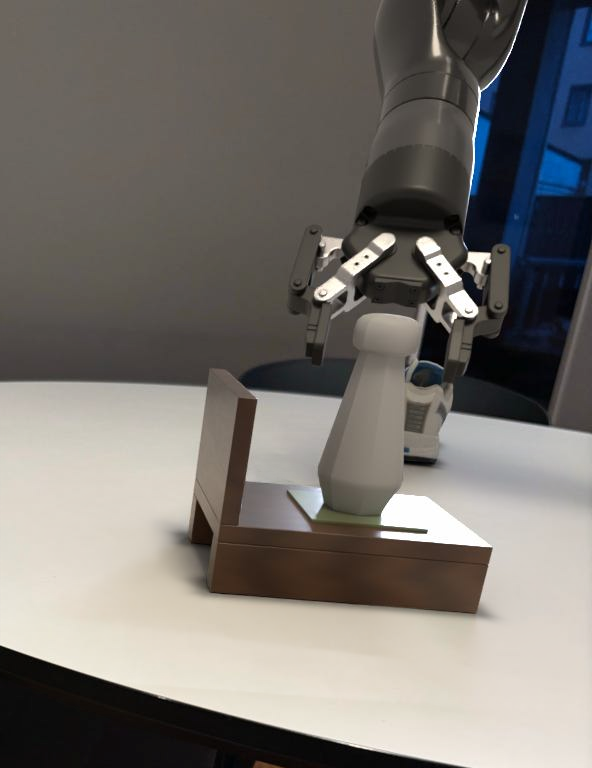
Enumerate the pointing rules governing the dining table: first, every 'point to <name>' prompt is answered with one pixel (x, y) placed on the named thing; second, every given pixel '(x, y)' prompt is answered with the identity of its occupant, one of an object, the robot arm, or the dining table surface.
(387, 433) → the salt shaker
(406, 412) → the athletic shoe
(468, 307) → the robot arm
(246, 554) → the l-shaped wooden stand
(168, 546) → the dining table surface
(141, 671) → the dining table surface
